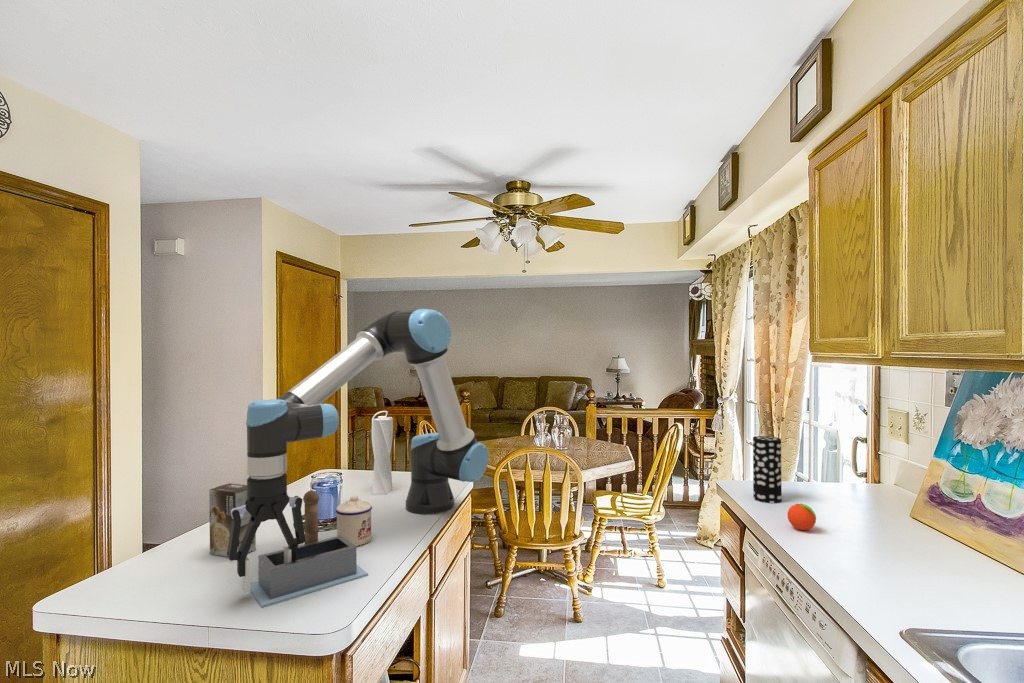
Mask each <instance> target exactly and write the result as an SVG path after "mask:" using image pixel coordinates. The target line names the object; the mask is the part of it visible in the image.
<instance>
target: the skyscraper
mask: <svg viewBox="0 0 1024 683" xmlns="http://www.w3.org/2000/svg"><path fill="white" fill-rule="evenodd" d="M382 413H385V415H380V416H377V415H378V414H382ZM388 413H389V411H387V410H380V411H377V412H376V413H375V414H374V415H373V416H372V418H371V446H372V452H373V458H374V463H373V476H372V492H371V493H372V495H381V494H386V495H385V496H387V495H388V494H389V493H391V492H392V491H393V477H392V476H393V474H392V465H391V458H390V457H391V451H392V447H393V439H394V438H393V437H394V419H393V417H392V416H388ZM376 416H377V418H375V417H376ZM387 416H388V417H387ZM390 491H391V492H390Z"/></svg>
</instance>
